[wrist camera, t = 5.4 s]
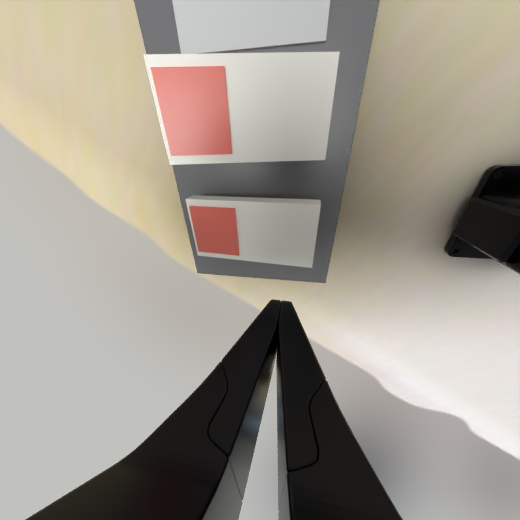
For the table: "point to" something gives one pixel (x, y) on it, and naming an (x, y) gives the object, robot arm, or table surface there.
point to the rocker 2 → (255, 228)
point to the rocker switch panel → (270, 41)
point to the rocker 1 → (243, 105)
